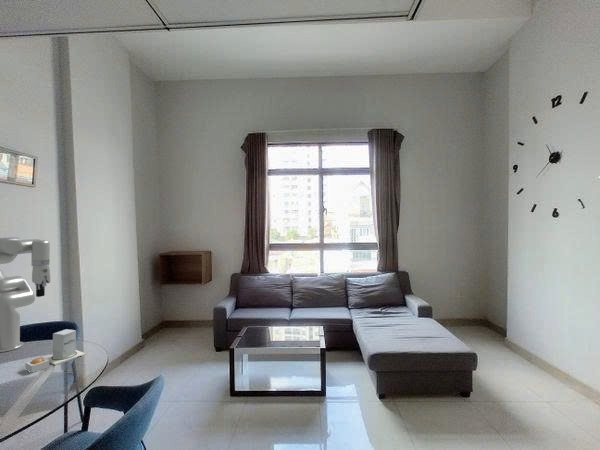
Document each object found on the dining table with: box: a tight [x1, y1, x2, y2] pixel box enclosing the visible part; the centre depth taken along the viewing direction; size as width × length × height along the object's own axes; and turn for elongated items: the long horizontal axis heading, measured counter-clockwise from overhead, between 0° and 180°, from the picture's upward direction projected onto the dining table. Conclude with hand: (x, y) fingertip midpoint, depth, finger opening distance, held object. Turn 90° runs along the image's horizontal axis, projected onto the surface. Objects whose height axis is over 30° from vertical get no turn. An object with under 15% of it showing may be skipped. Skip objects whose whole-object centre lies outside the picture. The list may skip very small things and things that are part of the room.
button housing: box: [24, 356, 50, 373], centre depth 152 cm, size 7×7×4 cm
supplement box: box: [52, 328, 77, 358], centre depth 165 cm, size 7×7×13 cm
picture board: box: [43, 349, 86, 366], centre depth 165 cm, size 14×14×1 cm
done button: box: [31, 357, 43, 364], centre depth 152 cm, size 4×4×3 cm
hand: (40, 296), depth 167 cm, fingers closed
